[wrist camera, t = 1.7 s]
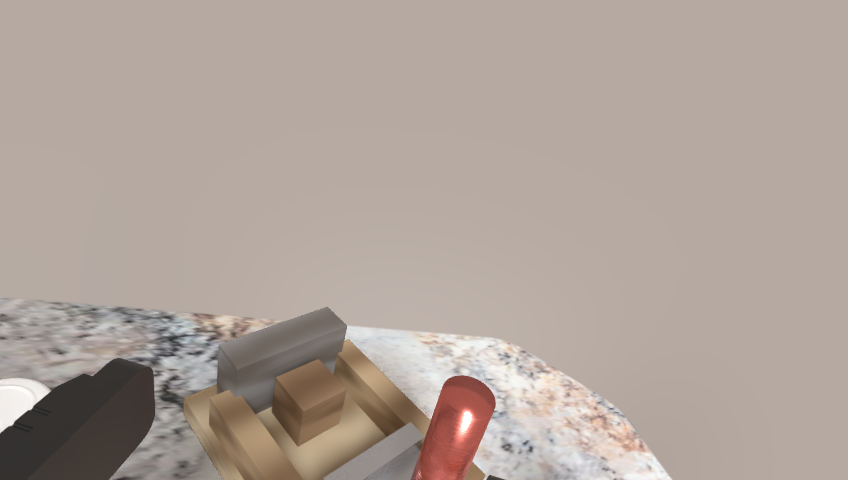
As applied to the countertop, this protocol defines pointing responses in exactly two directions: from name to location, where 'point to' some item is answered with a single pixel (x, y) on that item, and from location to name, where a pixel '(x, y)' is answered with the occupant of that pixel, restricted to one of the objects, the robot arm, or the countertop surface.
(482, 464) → the countertop surface
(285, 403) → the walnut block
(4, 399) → the spice jar
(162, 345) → the countertop surface
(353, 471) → the plunger
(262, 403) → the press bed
